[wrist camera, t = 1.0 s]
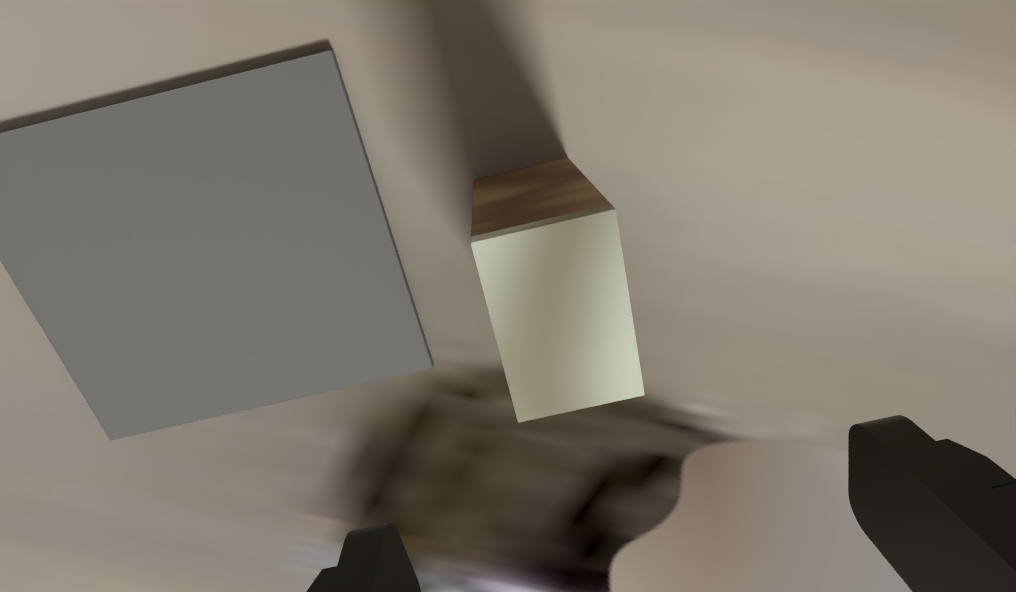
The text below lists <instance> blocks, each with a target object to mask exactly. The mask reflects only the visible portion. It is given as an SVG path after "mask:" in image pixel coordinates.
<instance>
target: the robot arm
mask: <svg viewBox="0 0 1016 592" xmlns="http://www.w3.org/2000/svg"><path fill="white" fill-rule="evenodd" d="M848 485H849V486H848V487H849V488H848V490H849V500H850V504H851V507H852V510H853V513H854V515H855V517H856V519H857V521H858V523H859V525H860V526H861V528H862V530H863V531H864V532H865V534H866V535H867V536H868V537H869V539H870V540H871V541H872V542H873V544H874V545H875V546H876V547H877V548H878V550H879V551H880V552H881V553H882V555H883V556H884V557H885V558H886V559H887V561H888V562H889V563H890V564H891V566H892V567H893V568H894V569H895V570H896V572H897V573H898V574H899V575H900V577H901V578H902V579H903V580H904V582H905V583H906V584H907V585H908V586H909V588H910V589H911V590H912V591H913V592H1016V479H1015V478H1013V477H1012V476H1011V475H1010V474H1008V473H1007V472H1006V471H1004V470H1003V469H1002V468H1001V467H999V466H998V465H997V464H996V463H994V462H993V461H992V460H990V459H989V458H988V457H986V456H984V455H982V454H980V453H978V452H975V451H973V450H971V449H969V448H967V447H964V446H962V445H960V444H958V443H956V442H953V441H951V440H949V439H944V440H939V441H935V440H934V439H933V438H931V437H930V436H929V435H928V434H927V433H925V432H924V431H923V430H922V429H921V428H919V427H918V426H917V425H916V424H915V423H913V422H912V421H911V420H909V419H908V418H906V417H904V416H901V415H897V416H892V417H888V418H883V419H878V420H874V421H869V422H864V423H860V424H855V425H853V426H852V427H851V428H850V430H849V484H848ZM307 592H421V589H420V585H419V582H418V579H417V577H416V574H415V572H414V570H413V567H412V565H411V562H410V560H409V557H408V555H407V552H406V550H405V548H404V545H403V543H402V540H401V538H400V535H399V533H398V531H397V528H396V527H395V525H394V524H393V523H386V524H381V525H377V526H372V527H367V528H363V529H358V530H353V531H350V532H349V533H348V534H347V536H346V538H345V541H344V544H343V548H342V551H341V555H340V558H339V562H338V565H337V566H336V567H331V568H326V569H322V571H321V572H320V573H319V575H318V576H317V578H316V579H315V580H314V582H313V583H312V585H311V586H310V587H309V589H308V590H307Z"/></svg>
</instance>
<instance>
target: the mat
mask: <svg viewBox="0 0 1016 592" xmlns="http://www.w3.org/2000/svg"><path fill="white" fill-rule="evenodd" d="M0 261H1V262H2V264H3V265H4V267H5V269H6V270H7V272H8V274H9V275H10V277H11V279H12V280H13V282H14V283H15V285H16V287H17V288H18V290H19V292H20V293H21V295H22V297H23V298H24V300H25V301H26V303H27V305H28V306H29V308H30V310H31V311H32V313H33V315H34V316H35V318H36V319H37V321H38V323H39V324H40V326H41V328H42V329H43V331H44V333H45V334H46V336H47V337H48V339H49V341H50V342H51V344H52V346H53V347H54V349H55V351H56V352H57V354H58V355H59V357H60V359H61V360H62V362H63V364H64V365H65V367H66V369H67V370H68V372H69V373H70V375H71V377H72V378H73V380H74V382H75V383H76V385H77V387H78V388H79V390H80V391H81V393H82V395H83V396H84V398H85V400H86V401H87V403H88V405H89V406H90V408H91V409H92V411H93V413H94V414H95V416H96V418H97V419H98V421H99V423H100V424H101V426H102V427H103V429H104V431H105V432H106V434H107V436H108V437H109V439H110V440H114V439H118V438H123V437H127V436H132V435H136V434H141V433H145V432H150V431H154V430H159V429H163V428H168V427H172V426H176V425H181V424H185V423H190V422H194V421H199V420H203V419H208V418H212V417H217V416H221V415H226V414H230V413H235V412H239V411H244V410H248V409H252V408H257V407H261V406H266V405H270V404H275V403H279V402H284V401H288V400H293V399H297V398H302V397H306V396H311V395H315V394H320V393H324V392H329V391H333V390H337V389H342V388H346V387H351V386H355V385H360V384H364V383H369V382H373V381H378V380H382V379H387V378H391V377H396V376H400V375H405V374H409V373H414V372H418V371H422V370H427V369H431V368H433V361H432V358H431V355H430V351H429V348H428V345H427V342H426V339H425V336H424V333H423V330H422V326H421V323H420V320H419V317H418V314H417V311H416V308H415V304H414V301H413V298H412V295H411V292H410V289H409V286H408V283H407V279H406V276H405V273H404V270H403V267H402V264H401V261H400V257H399V254H398V251H397V248H396V245H395V242H394V239H393V236H392V232H391V229H390V226H389V223H388V220H387V217H386V214H385V210H384V207H383V204H382V201H381V198H380V195H379V192H378V188H377V185H376V182H375V179H374V176H373V173H372V170H371V167H370V163H369V160H368V157H367V154H366V151H365V148H364V145H363V141H362V138H361V135H360V132H359V129H358V126H357V123H356V120H355V116H354V113H353V110H352V107H351V104H350V101H349V98H348V94H347V91H346V88H345V85H344V82H343V79H342V76H341V73H340V69H339V66H338V63H337V60H336V57H335V54H334V51H333V50H329V51H325V52H321V53H317V54H313V55H309V56H305V57H301V58H297V59H293V60H289V61H285V62H281V63H277V64H273V65H269V66H265V67H261V68H257V69H253V70H249V71H245V72H241V73H238V74H234V75H230V76H226V77H222V78H218V79H214V80H210V81H206V82H202V83H198V84H194V85H190V86H186V87H182V88H178V89H174V90H170V91H166V92H162V93H158V94H154V95H150V96H146V97H142V98H138V99H134V100H130V101H126V102H122V103H118V104H114V105H110V106H106V107H102V108H98V109H94V110H90V111H86V112H82V113H78V114H74V115H70V116H66V117H62V118H58V119H54V120H50V121H46V122H42V123H38V124H34V125H30V126H26V127H22V128H18V129H14V130H10V131H6V132H2V133H0Z"/></svg>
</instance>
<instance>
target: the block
mask: <svg viewBox="0 0 1016 592" xmlns="http://www.w3.org/2000/svg"><path fill="white" fill-rule="evenodd" d="M471 246H472V250H473V254H474V257H475V261H476V265H477V269H478V272H479V276H480V280H481V284H482V288H483V291H484V295H485V299H486V303H487V307H488V310H489V314H490V318H491V322H492V325H493V329H494V333H495V337H496V341H497V344H498V348H499V352H500V356H501V359H502V363H503V367H504V371H505V375H506V378H507V382H508V386H509V390H510V394H511V397H512V401H513V405H514V409H515V412H516V416H517V420H518V423H519V422H523V421H528V420H532V419H537V418H542V417H546V416H551V415H555V414H560V413H565V412H569V411H574V410H578V409H583V408H588V407H592V406H597V405H601V404H606V403H611V402H615V401H620V400H624V399H629V398H634V397H638V396H643V395H644V388H643V382H642V376H641V369H640V363H639V356H638V350H637V344H636V337H635V331H634V324H633V318H632V312H631V305H630V299H629V292H628V286H627V280H626V273H625V267H624V260H623V254H622V248H621V241H620V235H619V228H618V222H617V215H616V209H615V208H614V207H613V206H612V205H611V204H610V203H609V202H608V201H607V199H606V198H605V197H604V196H603V195H602V194H601V193H600V192H599V191H598V190H597V189H596V188H595V186H594V185H593V184H592V183H591V182H590V181H589V180H588V179H587V178H586V177H585V176H584V175H583V173H582V172H581V171H580V170H579V169H578V168H577V167H576V166H575V165H574V164H573V163H572V162H571V161H570V159H569V158H564V159H559V160H555V161H551V162H547V163H543V164H538V165H534V166H530V167H526V168H521V169H517V170H513V171H509V172H505V173H500V174H496V175H492V176H488V177H484V178H479V179H475V180H474V192H473V210H472V228H471Z"/></svg>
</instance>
